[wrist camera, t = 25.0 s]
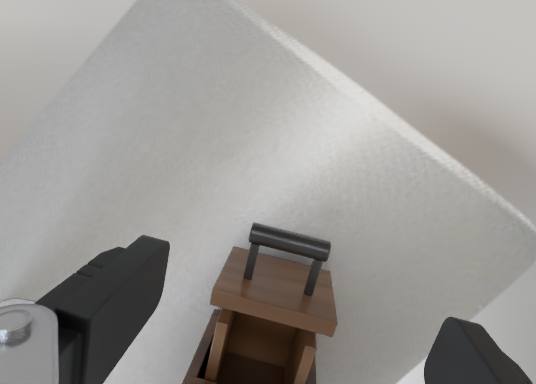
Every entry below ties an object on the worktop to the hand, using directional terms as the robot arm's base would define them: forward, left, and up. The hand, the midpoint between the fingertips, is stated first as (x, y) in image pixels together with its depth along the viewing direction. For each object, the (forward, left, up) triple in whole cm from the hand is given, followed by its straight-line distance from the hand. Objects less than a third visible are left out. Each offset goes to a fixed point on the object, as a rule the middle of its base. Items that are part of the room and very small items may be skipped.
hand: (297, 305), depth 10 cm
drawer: (+9, -6, -18) cm, 20 cm away
